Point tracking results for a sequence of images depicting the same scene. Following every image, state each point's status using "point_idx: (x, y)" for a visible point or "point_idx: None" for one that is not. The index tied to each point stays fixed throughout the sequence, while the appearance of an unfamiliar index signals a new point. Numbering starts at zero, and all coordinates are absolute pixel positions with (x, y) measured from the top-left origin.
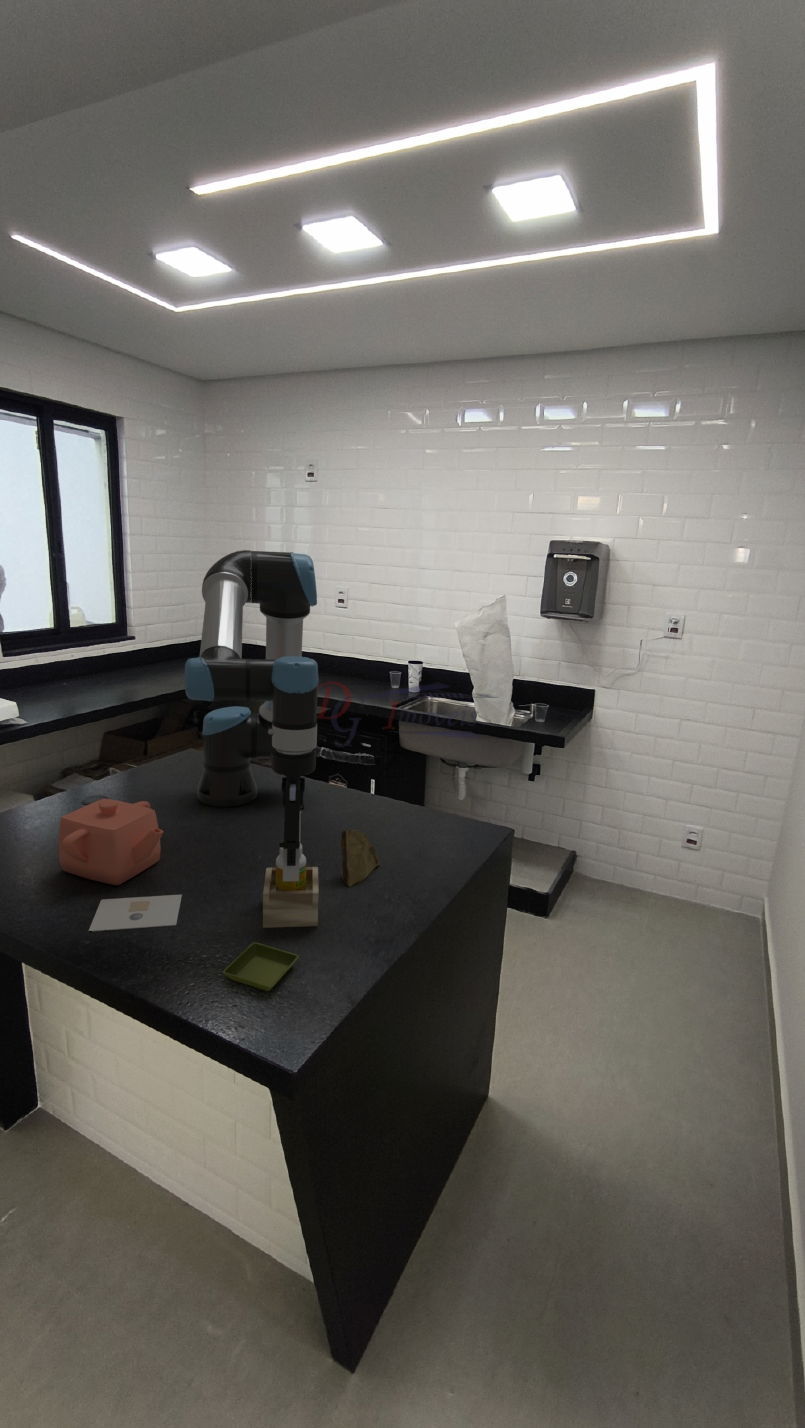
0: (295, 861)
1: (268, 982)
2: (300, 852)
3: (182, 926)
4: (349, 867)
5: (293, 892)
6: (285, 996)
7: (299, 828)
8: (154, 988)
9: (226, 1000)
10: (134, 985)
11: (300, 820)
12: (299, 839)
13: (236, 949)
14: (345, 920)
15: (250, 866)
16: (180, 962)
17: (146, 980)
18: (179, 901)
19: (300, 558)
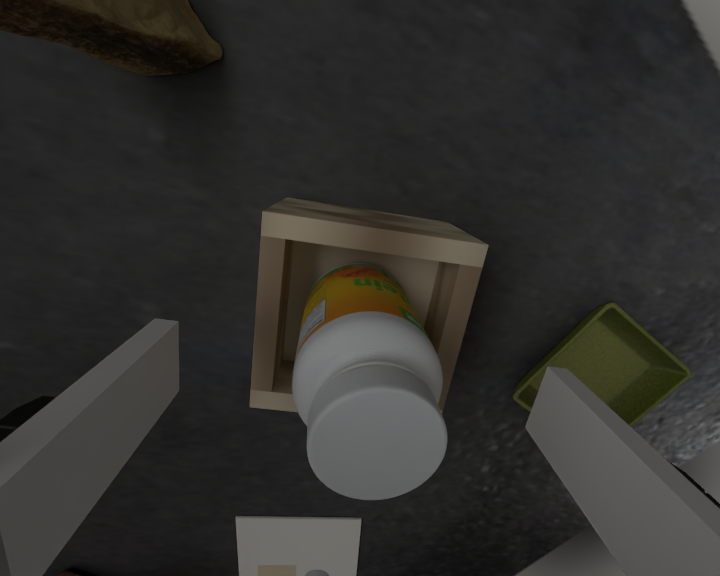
0: (699, 485)
1: (629, 363)
2: (420, 384)
3: (367, 507)
4: (158, 27)
5: (454, 334)
6: (684, 333)
7: (117, 386)
8: (551, 532)
9: (638, 433)
10: (531, 556)
11: (67, 429)
12: (162, 341)
13: (484, 415)
14: (439, 126)
15: (75, 373)
16: (492, 503)
17: (524, 543)
18: (266, 519)
19: None
